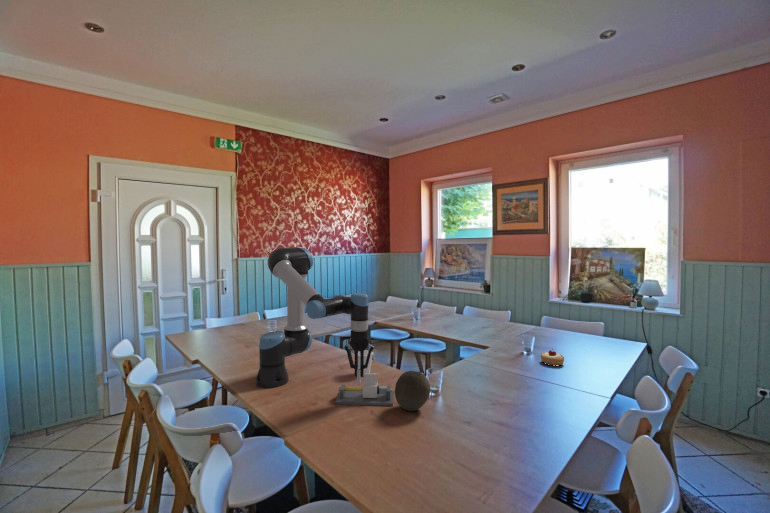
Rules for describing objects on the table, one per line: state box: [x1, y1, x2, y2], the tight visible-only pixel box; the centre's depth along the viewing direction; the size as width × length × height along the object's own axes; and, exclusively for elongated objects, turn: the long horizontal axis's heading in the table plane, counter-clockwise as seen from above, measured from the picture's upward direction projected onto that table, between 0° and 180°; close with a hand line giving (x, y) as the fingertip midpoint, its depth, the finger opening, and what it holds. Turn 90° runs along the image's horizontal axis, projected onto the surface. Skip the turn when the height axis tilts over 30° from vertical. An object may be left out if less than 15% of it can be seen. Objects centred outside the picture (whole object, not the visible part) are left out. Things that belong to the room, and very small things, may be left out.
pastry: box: [540, 348, 565, 366], centre depth 201 cm, size 12×12×9 cm
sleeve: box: [362, 372, 379, 398], centre depth 154 cm, size 6×5×10 cm
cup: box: [358, 349, 374, 377], centre depth 184 cm, size 10×10×11 cm
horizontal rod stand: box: [334, 384, 395, 407], centre depth 154 cm, size 24×12×6 cm, turn 87°
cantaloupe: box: [394, 370, 431, 412], centre depth 145 cm, size 14×14×15 cm
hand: (359, 383), depth 154 cm, fingers closed
